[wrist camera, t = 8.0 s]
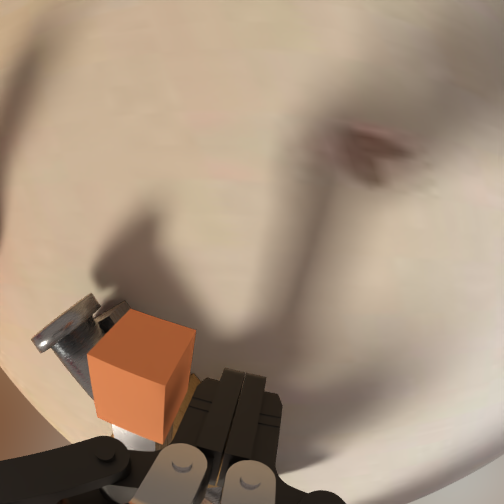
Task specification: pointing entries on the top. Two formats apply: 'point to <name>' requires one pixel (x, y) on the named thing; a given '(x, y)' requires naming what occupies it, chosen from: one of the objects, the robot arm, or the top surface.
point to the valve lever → (141, 378)
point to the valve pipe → (84, 339)
